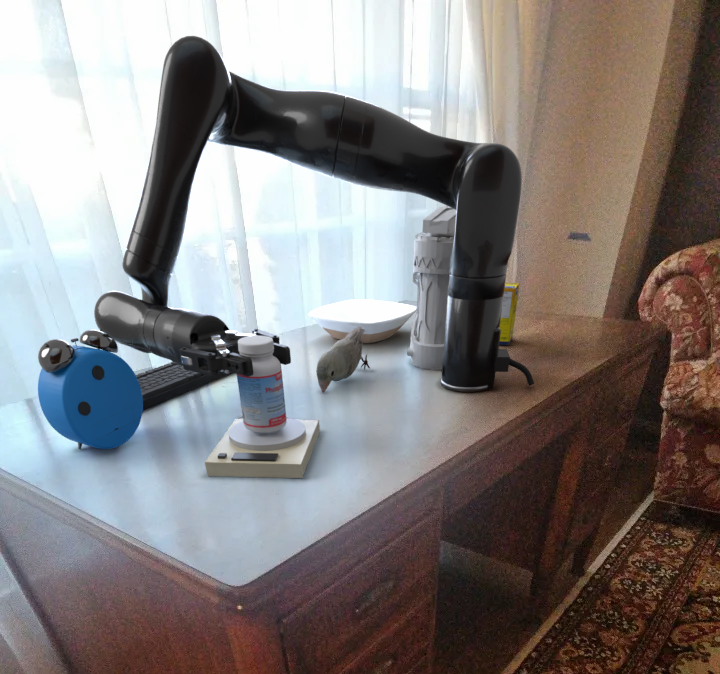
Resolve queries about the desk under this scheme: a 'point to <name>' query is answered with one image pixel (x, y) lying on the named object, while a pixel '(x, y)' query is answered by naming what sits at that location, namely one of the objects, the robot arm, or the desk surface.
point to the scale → (264, 451)
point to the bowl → (363, 318)
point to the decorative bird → (341, 359)
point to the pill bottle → (261, 386)
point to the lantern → (432, 287)
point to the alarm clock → (89, 391)
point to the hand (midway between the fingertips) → (269, 361)
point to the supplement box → (508, 312)
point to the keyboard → (170, 382)
